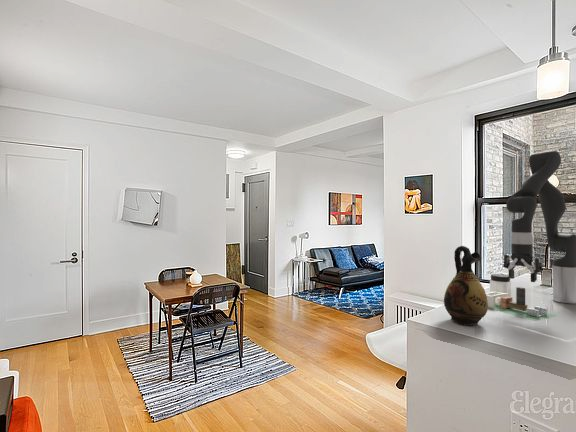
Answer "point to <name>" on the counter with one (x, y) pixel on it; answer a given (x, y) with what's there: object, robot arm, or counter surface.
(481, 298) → the ceramic jug
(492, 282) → the jar
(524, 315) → the pitch mat
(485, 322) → the counter surface
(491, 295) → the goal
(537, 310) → the bracket
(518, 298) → the wooden peg with knob
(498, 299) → the ball
